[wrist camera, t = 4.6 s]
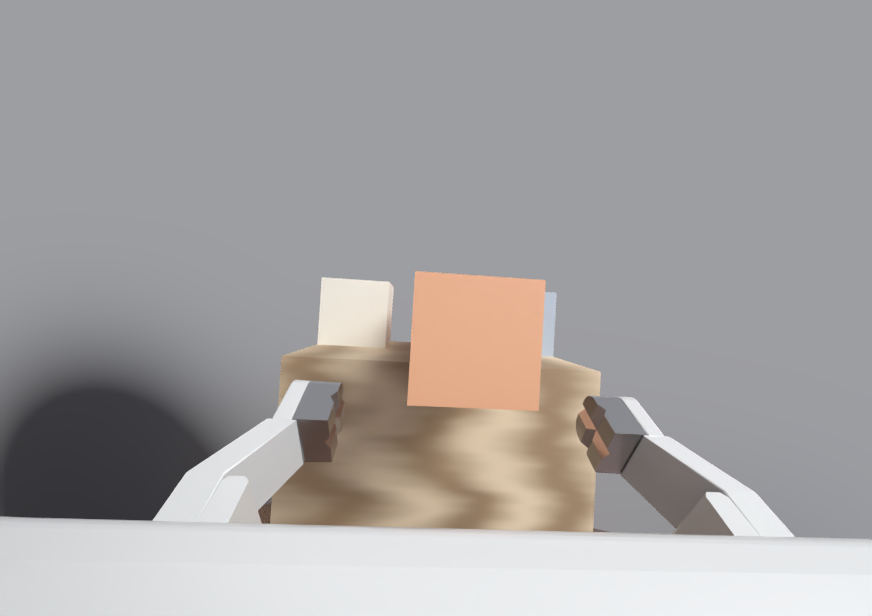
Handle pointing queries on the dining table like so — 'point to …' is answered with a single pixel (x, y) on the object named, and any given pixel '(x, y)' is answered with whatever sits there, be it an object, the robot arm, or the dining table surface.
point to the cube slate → (549, 324)
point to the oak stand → (440, 452)
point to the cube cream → (355, 313)
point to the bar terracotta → (476, 342)
